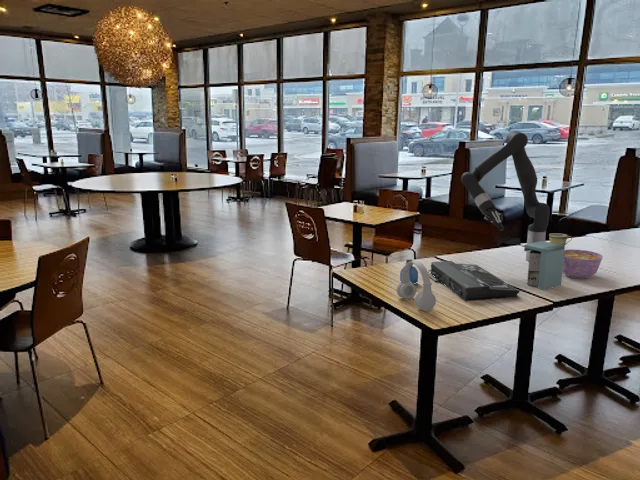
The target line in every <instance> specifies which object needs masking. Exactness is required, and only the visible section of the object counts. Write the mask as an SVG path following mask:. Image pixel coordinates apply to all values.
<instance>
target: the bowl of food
mask: <svg viewBox="0 0 640 480" xmlns="http://www.w3.org/2000/svg"><path fill="white" fill-rule="evenodd" d="M603 257H604V256H603V255H602V254H600V253H599V252H595V251H592V250H586V249H585V250H584V249H564V259H563V270H562V273H564V274H565V275H567V276H569V277H570V278H573V279H580V280H581V279H587V278H590V277H592V276H594V275H596V273H597V272H598V270H599V267H600V265H601V262H602V261H603Z"/></svg>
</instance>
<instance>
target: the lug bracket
mask: <svg viewBox="0 0 640 480" xmlns="http://www.w3.org/2000/svg"><path fill="white" fill-rule="evenodd" d="M565 247H566V245H565V246H563V245H559V244H554V243H550V241H549V242H548V241H545V242H544V241H540V242H535V243H530V244H527V243H525V244H524V247H523V248H524V249H523V250H524V252H526V251H529V250H537V251H541V258H540V270H539V282H538V286H537V289H539V290H541V289H542V291H546V290H549V289H552V287H553V288H556V286H557V287H559V286H562V280H563V279H562V277H563V271H562V270H563V259H564V250H566V249H565Z"/></svg>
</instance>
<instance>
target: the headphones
mask: <svg viewBox="0 0 640 480" xmlns="http://www.w3.org/2000/svg"><path fill="white" fill-rule="evenodd" d="M412 264H413V265H415V267H416V268H417V269H418V270H419V272H420V274H421V278H422V282H423V283H422V286H423V288H422V290H420V291H419V292H417V285H414V284H413V283H412V282H411V281H410V279H409V273H410V272H409V270H410V267H411V266H413V265H412ZM403 267H404V269H403V268H402V269H403V272H401V271H400V272H401V274H402V278H401V282H400V281H399V283H398V284H397V287H396V294H397V296H398V297H400V298H401V297H402V298H401V299H403V300H406V299H409V300H411V298H412V299H413V298H414V304H415V306H416V307H417V308H418V309H419V310H420V311H422V312H425V311H427V312H430V311H431V310H432V309H434V307H435V306H436V303H437V298H436V296H435V294H433V293H434V292H433V291H432V284H433V282H431V277H430V276H429V274H430V273H428V271H429V270H428V269H427V268H426V265H424V263H422V262H421V261H419V260H414V261H412V262H408V263H407V264H406V263H405V265H404V266H403ZM416 293H417V294H416ZM415 295H416V296H415Z"/></svg>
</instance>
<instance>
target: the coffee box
mask: <svg viewBox="0 0 640 480" xmlns="http://www.w3.org/2000/svg"><path fill="white" fill-rule="evenodd" d="M540 258H541V251H537V250H531V252H530V256H529V261H528V269H527V280H526V281H527V282H526V285H528V286H534V287H538V282H539V270H540Z"/></svg>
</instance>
